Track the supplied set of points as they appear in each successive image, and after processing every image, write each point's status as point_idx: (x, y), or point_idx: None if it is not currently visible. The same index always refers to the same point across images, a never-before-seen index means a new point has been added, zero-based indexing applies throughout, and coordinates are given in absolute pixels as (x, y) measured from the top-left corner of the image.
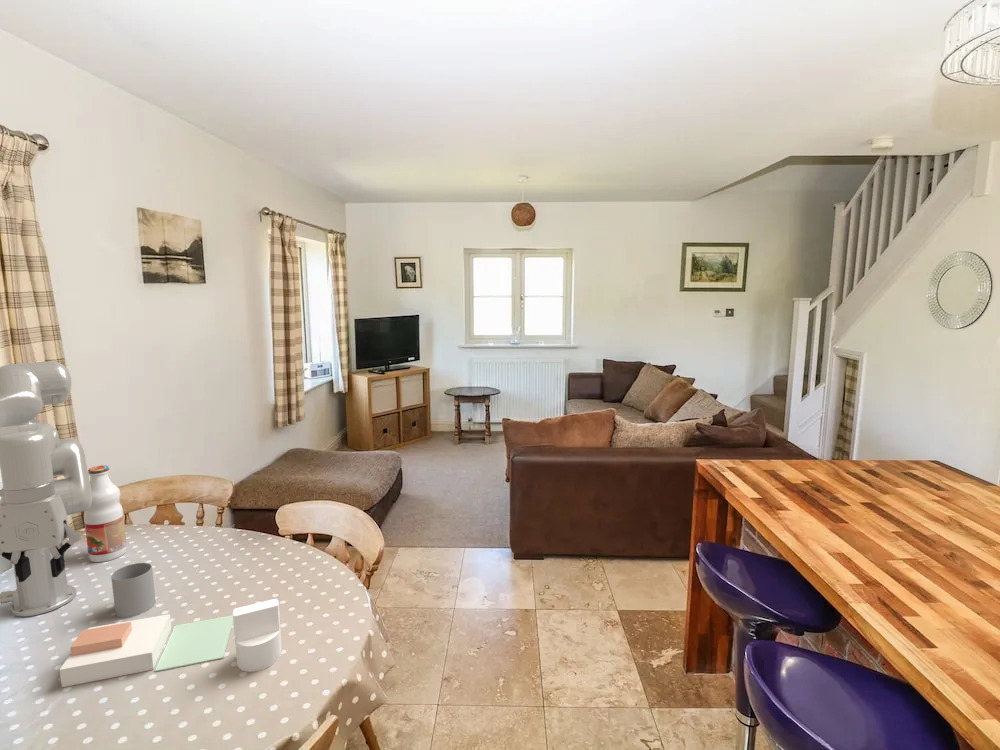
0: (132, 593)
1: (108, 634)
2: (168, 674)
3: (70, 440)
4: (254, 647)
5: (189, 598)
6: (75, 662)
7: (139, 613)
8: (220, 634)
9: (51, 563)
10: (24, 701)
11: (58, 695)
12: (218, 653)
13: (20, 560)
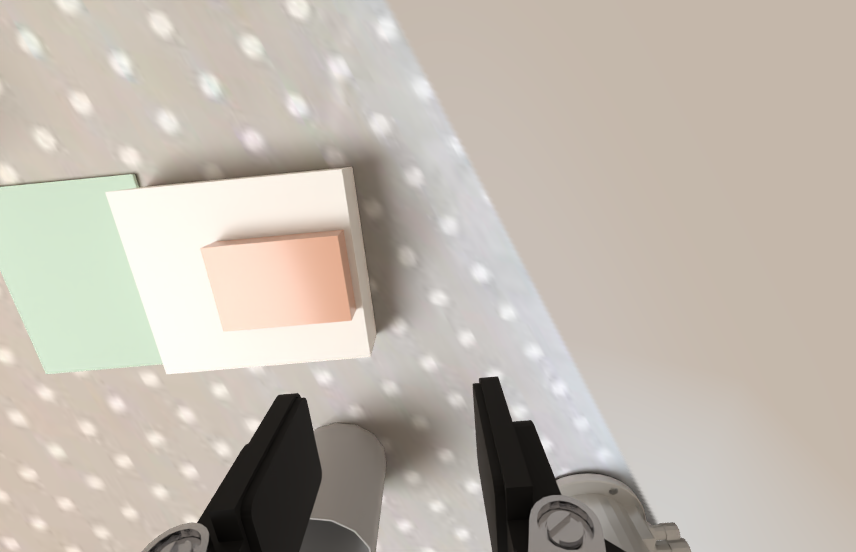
0: None
1: (255, 279)
2: (90, 154)
3: None
4: None
5: (222, 470)
6: (314, 194)
7: (316, 430)
8: (35, 295)
9: (250, 478)
10: (418, 131)
11: (343, 135)
12: None
13: (518, 540)
